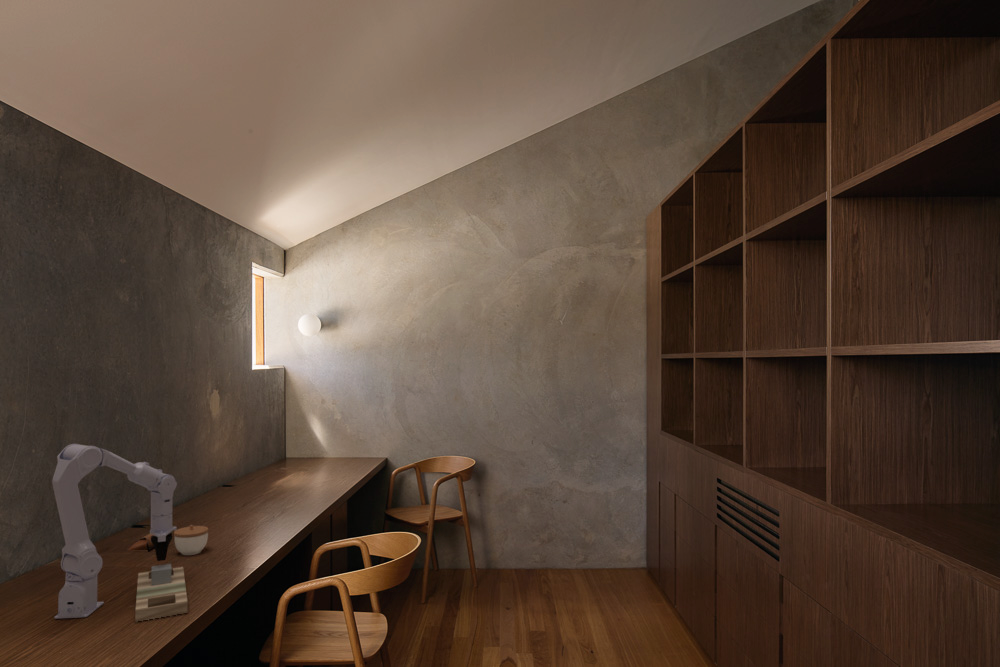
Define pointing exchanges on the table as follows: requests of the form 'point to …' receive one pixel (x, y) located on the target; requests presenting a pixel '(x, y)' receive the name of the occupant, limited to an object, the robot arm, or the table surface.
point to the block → (161, 574)
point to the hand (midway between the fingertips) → (161, 560)
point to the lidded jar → (191, 539)
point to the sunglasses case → (143, 543)
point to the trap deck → (161, 596)
